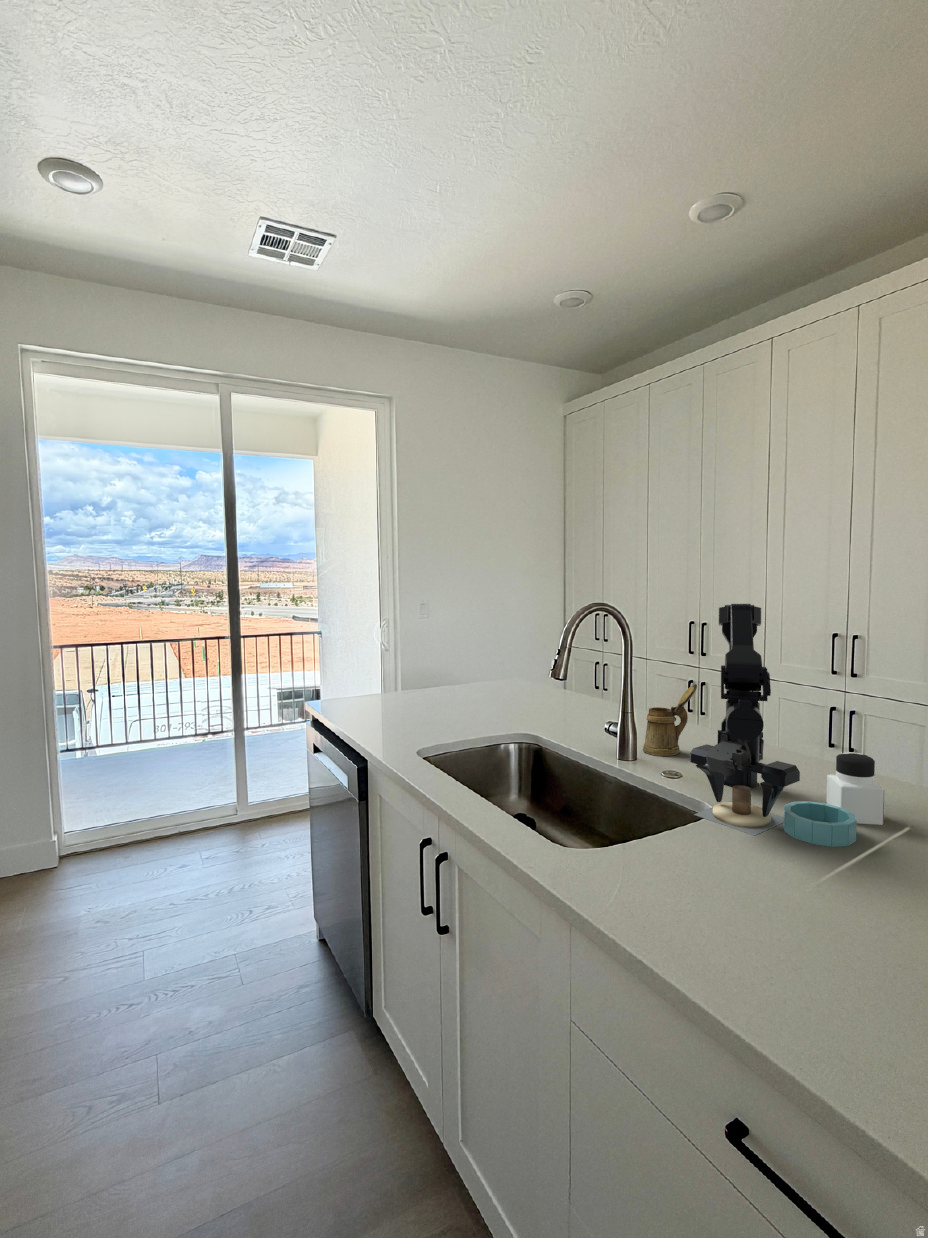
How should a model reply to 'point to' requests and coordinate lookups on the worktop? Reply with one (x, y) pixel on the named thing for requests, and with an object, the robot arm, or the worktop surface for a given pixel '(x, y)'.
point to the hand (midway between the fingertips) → (741, 809)
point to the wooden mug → (666, 727)
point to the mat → (752, 831)
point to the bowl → (820, 823)
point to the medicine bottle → (856, 788)
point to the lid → (741, 810)
